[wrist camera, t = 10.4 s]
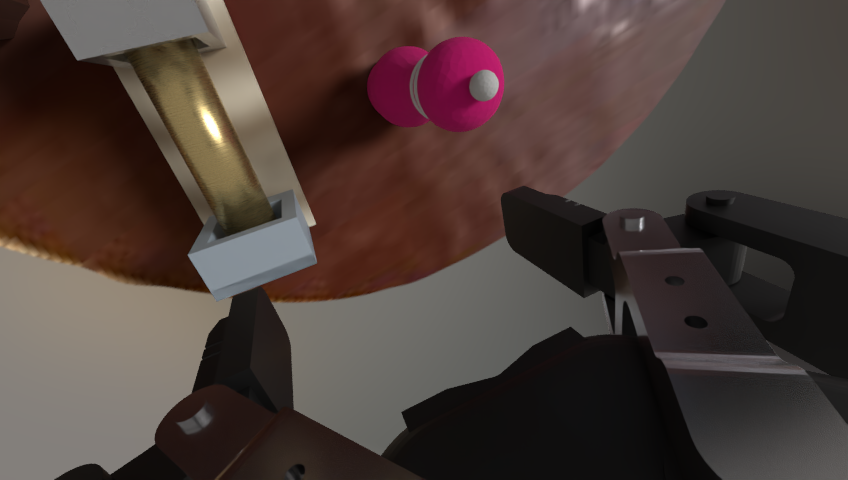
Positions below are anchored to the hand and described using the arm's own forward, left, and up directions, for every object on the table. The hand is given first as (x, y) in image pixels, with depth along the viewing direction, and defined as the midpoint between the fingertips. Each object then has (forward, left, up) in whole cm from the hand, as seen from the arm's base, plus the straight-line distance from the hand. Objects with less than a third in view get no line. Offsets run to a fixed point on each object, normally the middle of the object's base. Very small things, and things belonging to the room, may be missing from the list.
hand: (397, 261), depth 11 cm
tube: (-4, -8, -26) cm, 27 cm away
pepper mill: (-3, +10, -30) cm, 32 cm away
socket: (+6, -8, -30) cm, 32 cm away
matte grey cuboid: (-12, -8, -29) cm, 33 cm away
